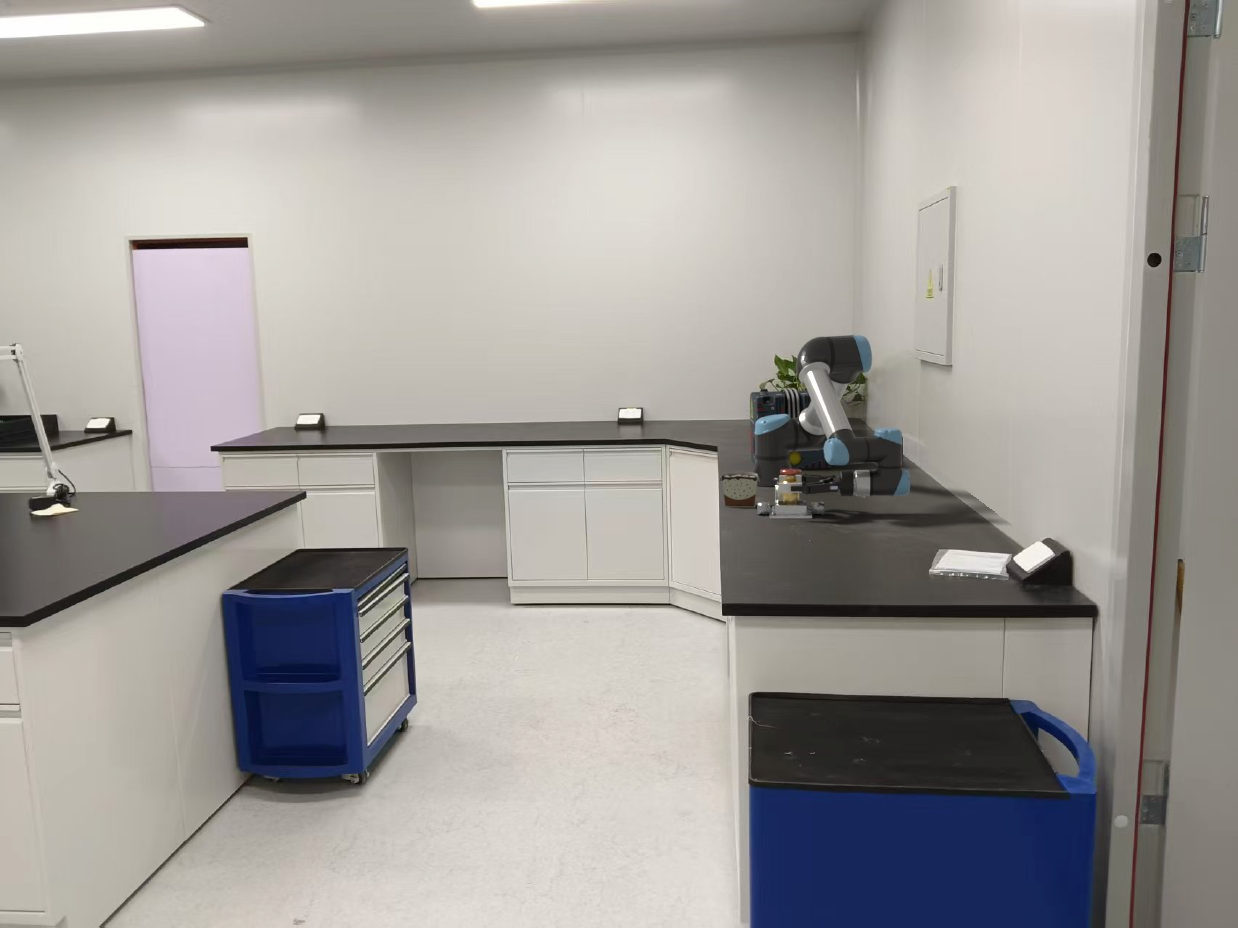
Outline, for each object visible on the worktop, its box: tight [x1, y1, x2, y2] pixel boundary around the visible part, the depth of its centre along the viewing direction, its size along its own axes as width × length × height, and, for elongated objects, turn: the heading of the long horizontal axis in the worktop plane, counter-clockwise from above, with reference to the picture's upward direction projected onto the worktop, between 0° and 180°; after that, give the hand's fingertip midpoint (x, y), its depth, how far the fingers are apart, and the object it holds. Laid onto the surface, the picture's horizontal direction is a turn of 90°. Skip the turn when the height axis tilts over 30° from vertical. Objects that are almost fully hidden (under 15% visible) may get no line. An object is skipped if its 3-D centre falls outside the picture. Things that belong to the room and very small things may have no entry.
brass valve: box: [780, 469, 802, 505], centre depth 284 cm, size 6×6×12 cm
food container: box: [719, 471, 760, 508], centre depth 300 cm, size 12×6×10 cm, turn 74°
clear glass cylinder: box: [774, 477, 782, 501], centre depth 297 cm, size 4×4×9 cm
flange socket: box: [756, 499, 825, 520], centre depth 284 cm, size 12×19×4 cm, turn 80°
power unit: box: [749, 387, 833, 470], centre depth 375 cm, size 28×28×30 cm
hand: (778, 483), depth 284 cm, fingers open, 13 cm apart
